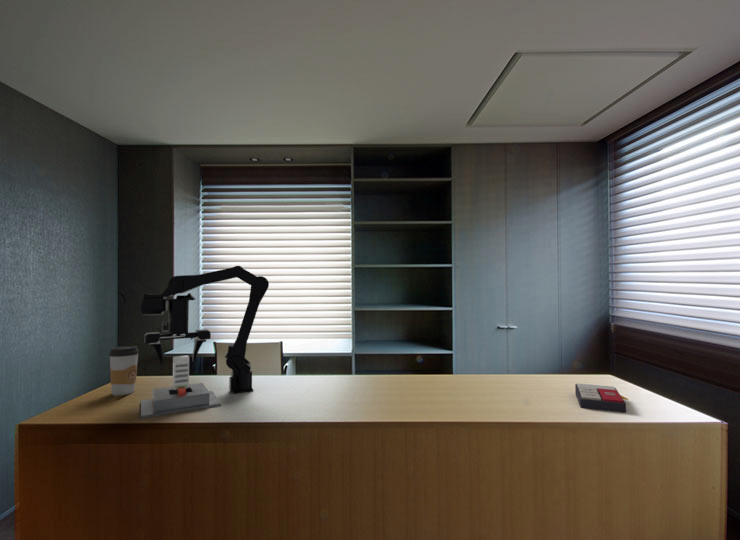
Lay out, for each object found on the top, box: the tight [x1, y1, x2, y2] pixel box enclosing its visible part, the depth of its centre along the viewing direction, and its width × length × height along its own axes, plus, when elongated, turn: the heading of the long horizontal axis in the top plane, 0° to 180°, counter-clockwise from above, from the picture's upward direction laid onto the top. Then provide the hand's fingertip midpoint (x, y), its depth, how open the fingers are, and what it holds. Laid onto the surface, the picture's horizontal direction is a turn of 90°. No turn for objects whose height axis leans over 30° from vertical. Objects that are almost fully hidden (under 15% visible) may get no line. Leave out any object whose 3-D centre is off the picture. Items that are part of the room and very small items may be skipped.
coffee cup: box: [108, 345, 140, 397], centre depth 123 cm, size 8×8×15 cm
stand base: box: [140, 382, 222, 420], centre depth 111 cm, size 20×16×6 cm
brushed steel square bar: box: [172, 355, 190, 390], centre depth 111 cm, size 4×4×9 cm
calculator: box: [574, 382, 627, 414], centre depth 110 cm, size 11×4×15 cm
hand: (177, 362), depth 120 cm, fingers open, 9 cm apart
